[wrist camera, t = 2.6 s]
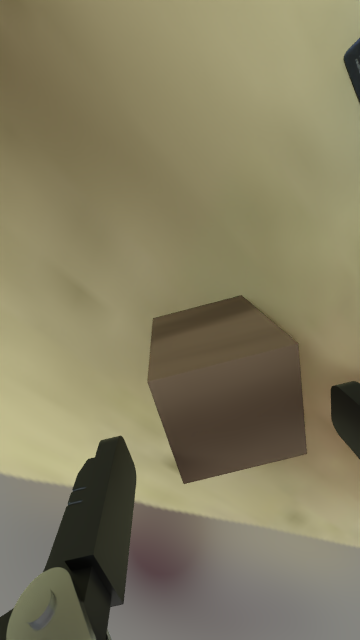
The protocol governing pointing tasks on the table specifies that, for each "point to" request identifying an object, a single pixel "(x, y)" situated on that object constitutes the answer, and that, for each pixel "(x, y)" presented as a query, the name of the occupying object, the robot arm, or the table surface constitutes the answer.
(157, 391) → the walnut block
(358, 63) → the small box
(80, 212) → the table surface
